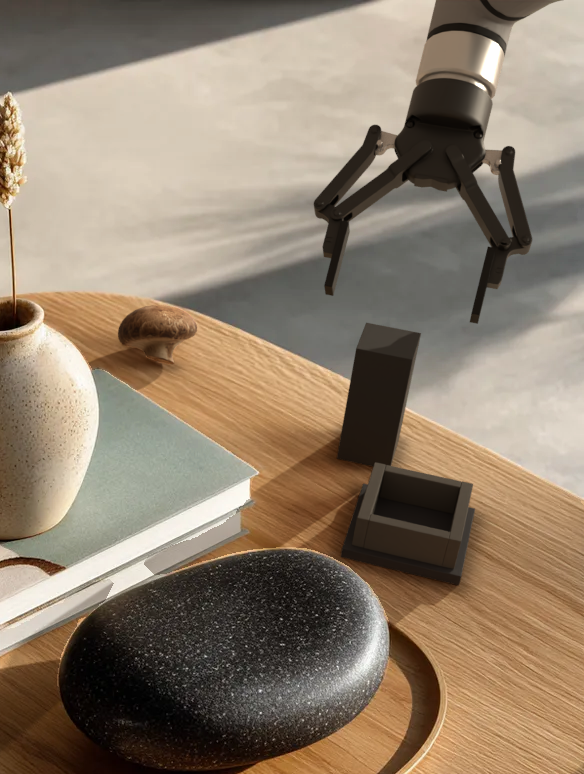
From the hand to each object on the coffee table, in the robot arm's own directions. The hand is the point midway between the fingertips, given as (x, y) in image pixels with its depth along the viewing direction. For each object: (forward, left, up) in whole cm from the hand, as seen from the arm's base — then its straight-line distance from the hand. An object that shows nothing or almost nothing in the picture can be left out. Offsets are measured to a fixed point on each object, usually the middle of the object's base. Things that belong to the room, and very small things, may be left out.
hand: (400, 305), depth 124 cm
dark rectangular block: (-4, +6, -12) cm, 14 cm away
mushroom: (+21, +11, -12) cm, 27 cm away
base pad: (-15, +13, -12) cm, 23 cm away
